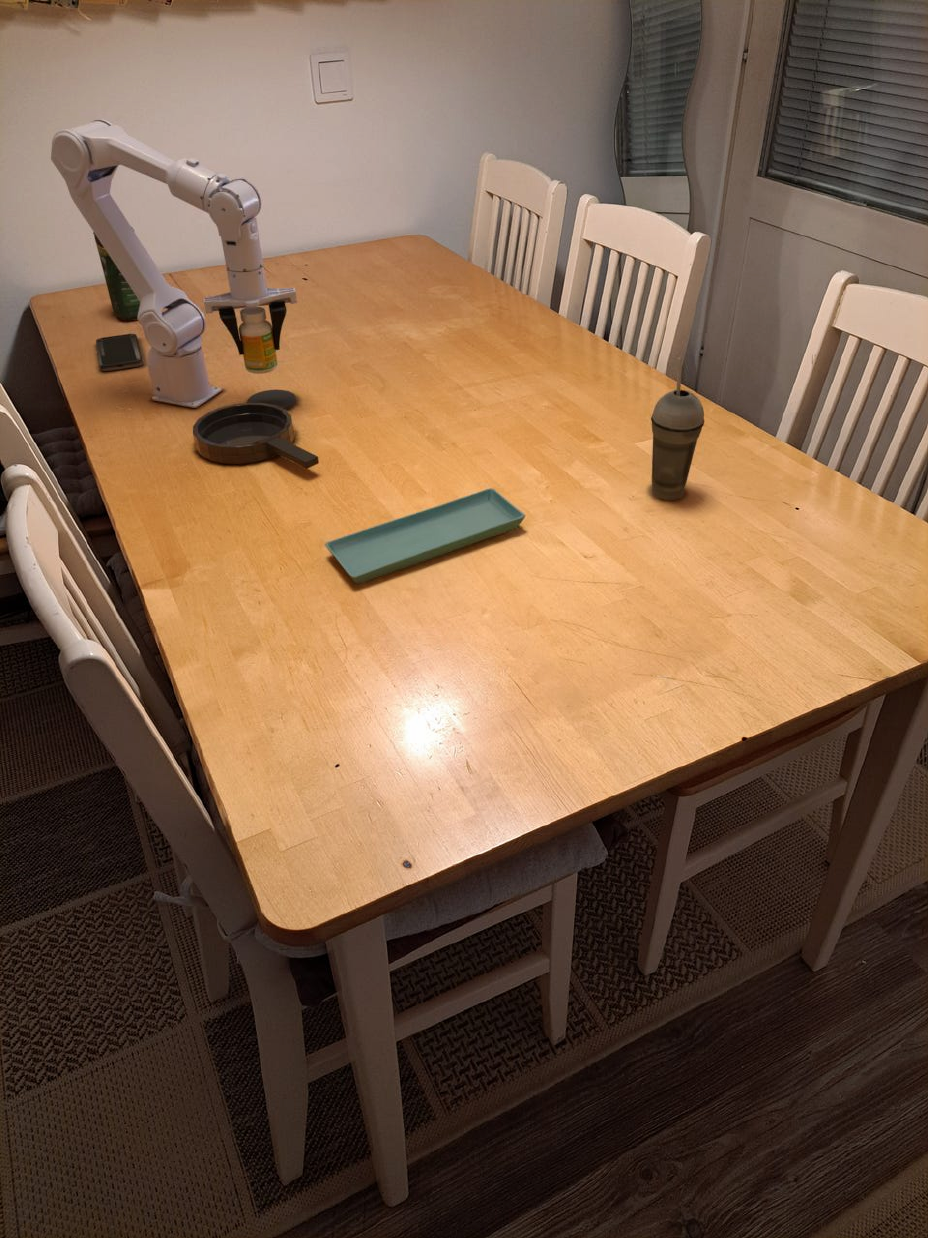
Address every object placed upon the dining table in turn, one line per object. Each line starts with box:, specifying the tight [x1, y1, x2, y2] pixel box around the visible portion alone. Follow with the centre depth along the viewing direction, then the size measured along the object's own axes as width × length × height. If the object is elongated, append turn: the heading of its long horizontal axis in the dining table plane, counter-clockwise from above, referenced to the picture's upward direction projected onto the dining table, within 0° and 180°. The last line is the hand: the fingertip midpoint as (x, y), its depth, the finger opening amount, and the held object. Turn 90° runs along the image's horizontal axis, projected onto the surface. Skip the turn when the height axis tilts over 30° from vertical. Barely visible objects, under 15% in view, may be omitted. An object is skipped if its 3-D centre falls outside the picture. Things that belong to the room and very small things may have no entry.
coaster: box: [246, 389, 297, 411], centre depth 158 cm, size 8×8×1 cm
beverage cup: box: [650, 356, 705, 501], centre depth 126 cm, size 7×7×20 cm
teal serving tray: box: [324, 487, 526, 585], centre depth 122 cm, size 26×9×2 cm, turn 120°
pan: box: [192, 402, 295, 465], centre depth 146 cm, size 16×16×3 cm
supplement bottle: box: [238, 306, 279, 375], centre depth 149 cm, size 5×5×10 cm
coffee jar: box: [92, 227, 140, 321], centre depth 188 cm, size 10×8×19 cm
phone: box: [95, 333, 144, 373], centre depth 176 cm, size 8×1×15 cm
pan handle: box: [266, 437, 320, 470], centre depth 139 cm, size 10×2×1 cm, turn 47°
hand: (258, 350), depth 150 cm, fingers closed on supplement bottle, 5 cm apart
